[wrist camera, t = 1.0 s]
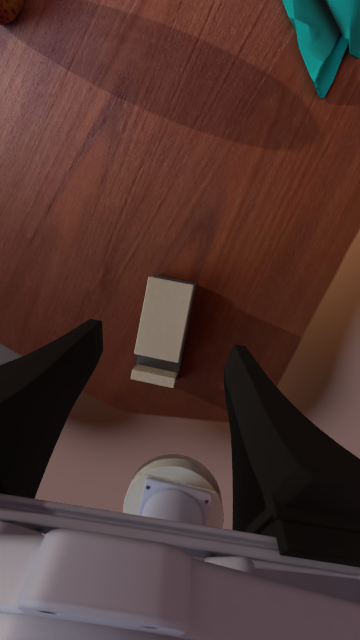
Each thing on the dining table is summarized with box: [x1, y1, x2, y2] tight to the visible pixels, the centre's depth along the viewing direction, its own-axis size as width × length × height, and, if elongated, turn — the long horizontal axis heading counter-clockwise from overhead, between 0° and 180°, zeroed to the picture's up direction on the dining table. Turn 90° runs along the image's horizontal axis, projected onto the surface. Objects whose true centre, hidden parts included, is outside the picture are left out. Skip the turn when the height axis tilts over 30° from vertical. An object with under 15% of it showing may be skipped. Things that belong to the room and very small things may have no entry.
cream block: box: [131, 275, 197, 388], centre depth 23 cm, size 11×5×4 cm, turn 169°
